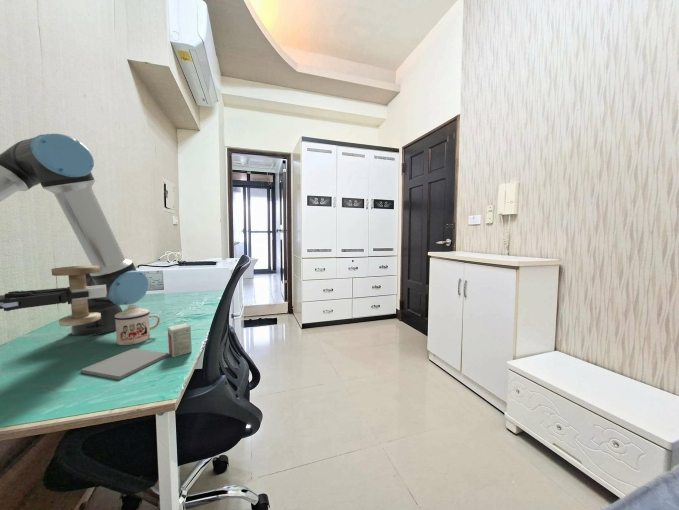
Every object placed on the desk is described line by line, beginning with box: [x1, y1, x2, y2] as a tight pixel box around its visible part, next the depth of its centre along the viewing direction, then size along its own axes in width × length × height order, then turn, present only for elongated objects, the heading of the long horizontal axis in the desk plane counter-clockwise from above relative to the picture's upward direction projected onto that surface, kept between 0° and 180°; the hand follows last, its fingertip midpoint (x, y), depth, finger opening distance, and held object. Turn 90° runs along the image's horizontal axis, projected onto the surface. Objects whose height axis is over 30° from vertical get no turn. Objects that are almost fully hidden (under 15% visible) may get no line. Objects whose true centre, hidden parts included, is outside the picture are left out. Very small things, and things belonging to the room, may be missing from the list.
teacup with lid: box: [114, 304, 161, 346], centre depth 87 cm, size 12×9×12 cm
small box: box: [167, 322, 192, 358], centre depth 77 cm, size 5×4×8 cm
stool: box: [50, 265, 101, 327], centre depth 71 cm, size 9×9×14 cm
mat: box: [80, 347, 170, 381], centre depth 71 cm, size 13×13×1 cm
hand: (105, 290), depth 74 cm, fingers closed on stool, 3 cm apart
